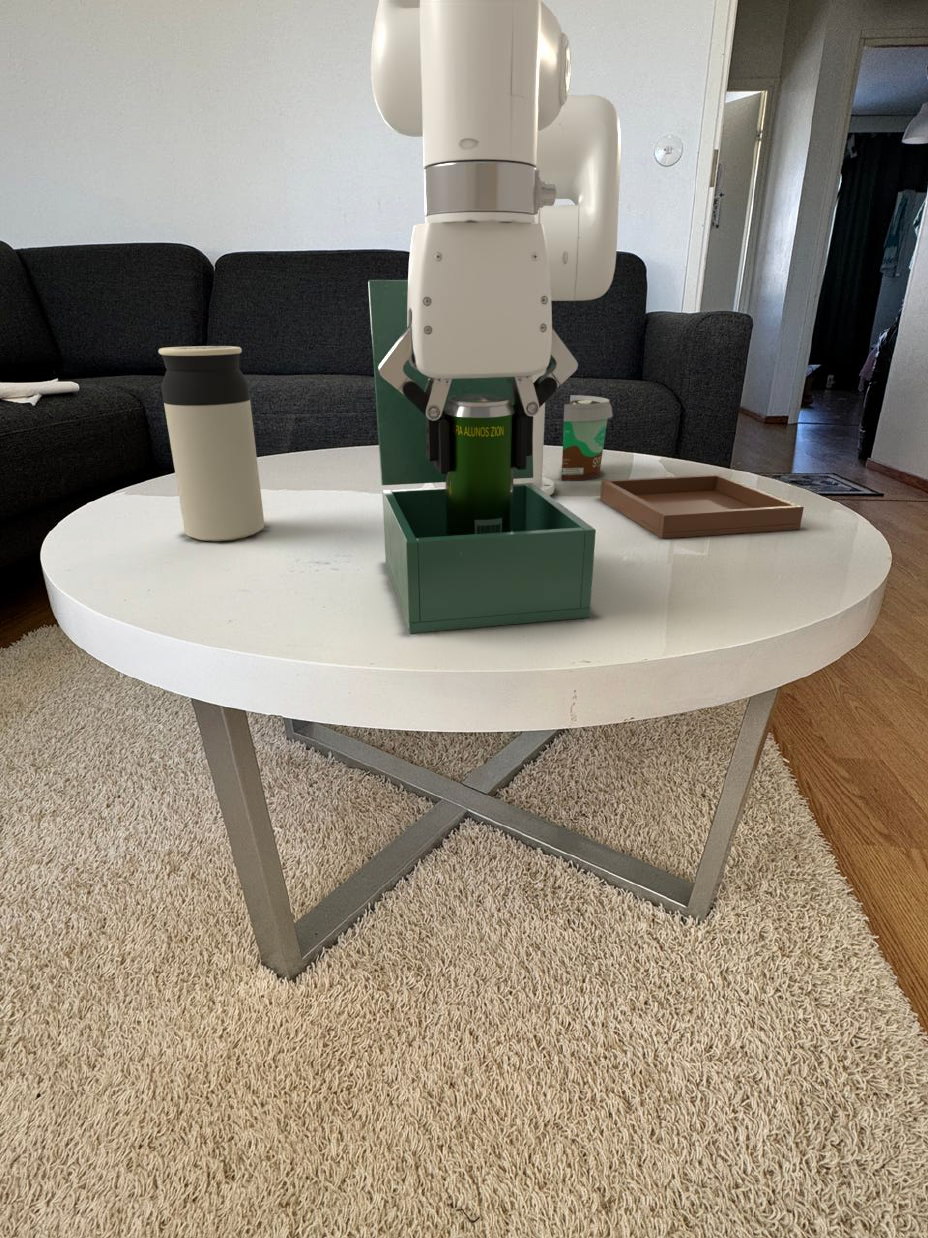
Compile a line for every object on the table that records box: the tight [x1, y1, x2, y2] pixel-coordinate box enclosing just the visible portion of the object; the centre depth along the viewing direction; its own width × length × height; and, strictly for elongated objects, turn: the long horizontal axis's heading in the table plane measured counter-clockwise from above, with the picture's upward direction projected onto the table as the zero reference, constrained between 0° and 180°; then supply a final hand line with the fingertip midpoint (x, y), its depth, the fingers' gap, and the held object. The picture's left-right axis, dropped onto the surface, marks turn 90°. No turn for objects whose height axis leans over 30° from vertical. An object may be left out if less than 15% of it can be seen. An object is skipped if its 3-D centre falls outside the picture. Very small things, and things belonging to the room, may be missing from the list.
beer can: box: [445, 394, 515, 536], centre depth 57 cm, size 5×5×12 cm
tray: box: [599, 473, 805, 540], centre depth 81 cm, size 17×16×2 cm
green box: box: [381, 483, 597, 634], centre depth 58 cm, size 16×14×7 cm
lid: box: [367, 279, 533, 486], centre depth 64 cm, size 16×14×5 cm
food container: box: [560, 394, 613, 481], centre depth 99 cm, size 12×6×10 cm, turn 168°
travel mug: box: [157, 345, 265, 542], centre depth 72 cm, size 8×8×18 cm
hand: (479, 465), depth 56 cm, fingers closed on beer can, 5 cm apart
